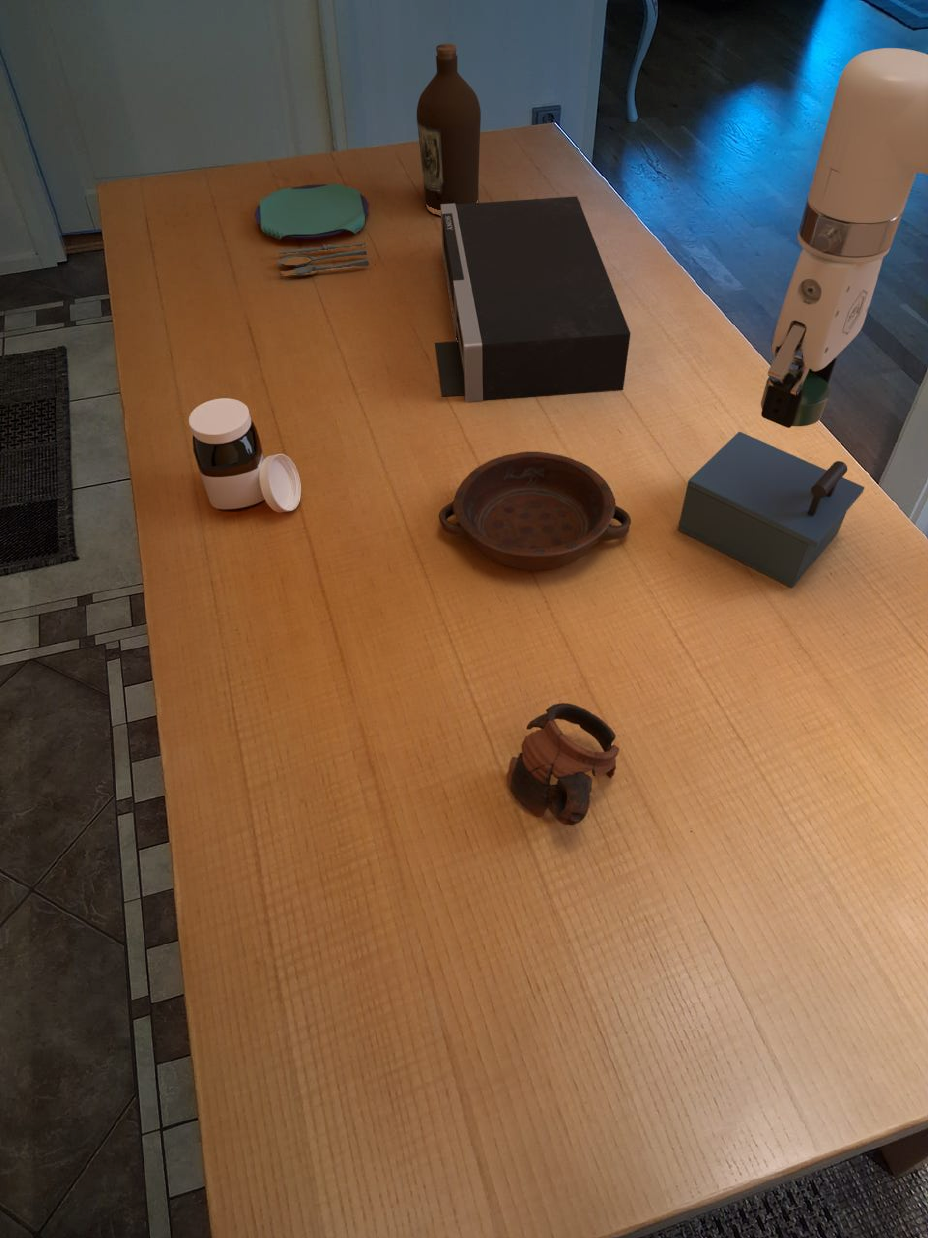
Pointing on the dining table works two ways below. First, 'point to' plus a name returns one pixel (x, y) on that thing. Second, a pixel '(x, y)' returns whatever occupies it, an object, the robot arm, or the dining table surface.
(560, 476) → the dish
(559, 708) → the brown hollow curved piece
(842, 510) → the lunchbox lid
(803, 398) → the dark green puck
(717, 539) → the lunchbox
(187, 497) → the dining table surface
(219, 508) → the spread jar
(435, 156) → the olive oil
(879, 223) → the robot arm
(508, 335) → the video player
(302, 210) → the cutlery set
